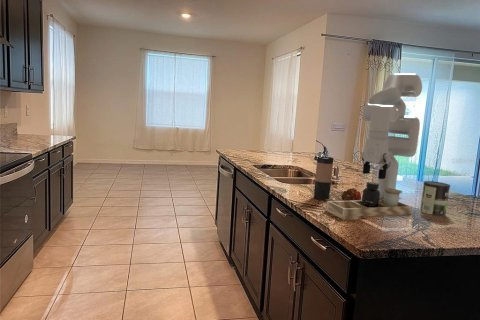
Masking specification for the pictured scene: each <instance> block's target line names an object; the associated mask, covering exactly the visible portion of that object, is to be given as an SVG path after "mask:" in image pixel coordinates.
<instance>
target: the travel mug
mask: <svg viewBox="0 0 480 320" xmlns="http://www.w3.org/2000/svg"><path fill="white" fill-rule="evenodd" d="M315 167H316V168H315V177H314V191H313V197H314V198H313V199H316V200H318V201H326V200H329V199H330V193H331V188H332V187H331V186H332V176H333V167H334V158H333V157H331V156H320V157H319V156H317V159H316V166H315Z"/></svg>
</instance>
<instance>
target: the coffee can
mask: <svg viewBox="0 0 480 320" xmlns="http://www.w3.org/2000/svg"><path fill="white" fill-rule="evenodd" d="M450 188H451V184H449V183H445V182H439V181H433V180H423V186H422V194H421V200H420V208H419V211H420V212H421V213H424V214H427V215H432V216H446V215H447V209H448V208H447V207H448V200H449V194H450Z"/></svg>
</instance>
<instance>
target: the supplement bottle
mask: <svg viewBox="0 0 480 320" xmlns="http://www.w3.org/2000/svg"><path fill="white" fill-rule="evenodd" d="M378 188H379V184H378V183H376V182H372V181H368V182H366V186H365V188H364V189H363V190H362V194H361V200H362V202H361V205H363V206H365V207H368V208H373V207H378V204H379V200H380V198H379V197H380V191H379V190H378Z"/></svg>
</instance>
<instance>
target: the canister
mask: <svg viewBox="0 0 480 320" xmlns="http://www.w3.org/2000/svg"><path fill="white" fill-rule="evenodd" d="M400 190H401V189H397V188H396V189H392V188H385V189H384V191H385V193H384V198H383V200H384V201H383V205H386V206H389V207H398V202H400V195H401V194H400Z"/></svg>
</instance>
